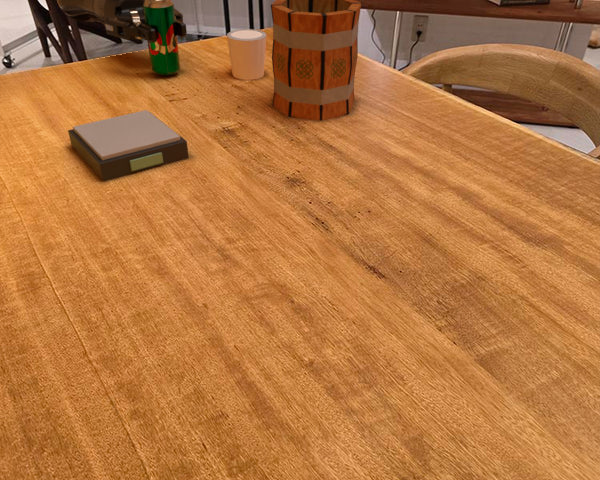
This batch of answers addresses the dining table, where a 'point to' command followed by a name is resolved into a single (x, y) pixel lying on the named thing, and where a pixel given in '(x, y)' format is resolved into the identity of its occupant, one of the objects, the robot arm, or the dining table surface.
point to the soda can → (162, 36)
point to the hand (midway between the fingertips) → (169, 33)
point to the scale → (127, 144)
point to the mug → (314, 57)
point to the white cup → (247, 53)
